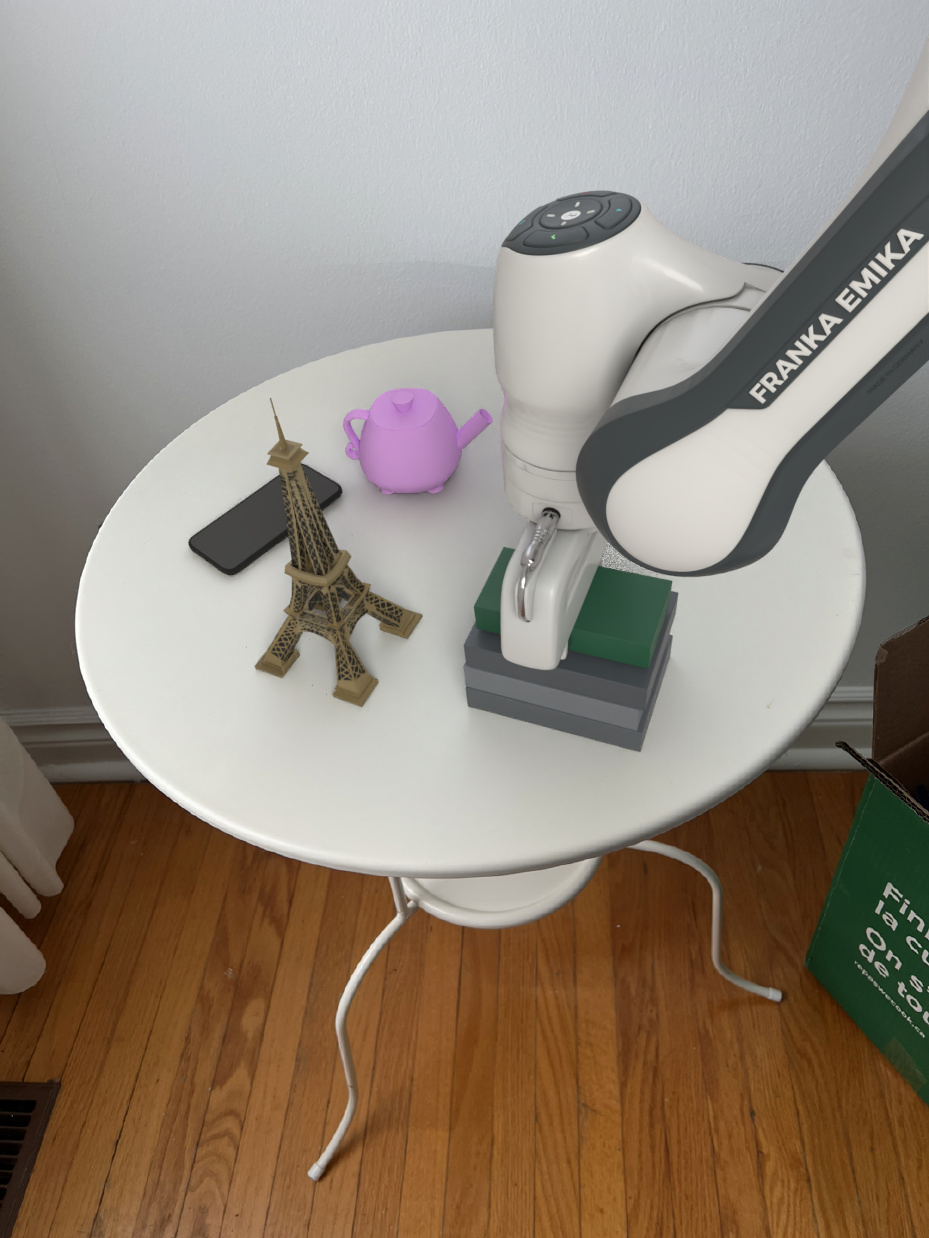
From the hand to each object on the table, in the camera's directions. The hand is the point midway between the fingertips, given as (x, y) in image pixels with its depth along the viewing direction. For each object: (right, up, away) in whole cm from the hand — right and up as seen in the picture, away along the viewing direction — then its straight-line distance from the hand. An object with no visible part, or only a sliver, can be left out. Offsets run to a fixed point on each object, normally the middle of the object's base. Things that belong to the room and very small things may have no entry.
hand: (573, 611), depth 68 cm
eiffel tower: (-19, -3, +11) cm, 22 cm away
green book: (0, 0, 0) cm, 0 cm away
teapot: (-12, +14, +26) cm, 32 cm away
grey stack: (+1, -6, +6) cm, 8 cm away
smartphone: (-27, +9, +23) cm, 37 cm away
